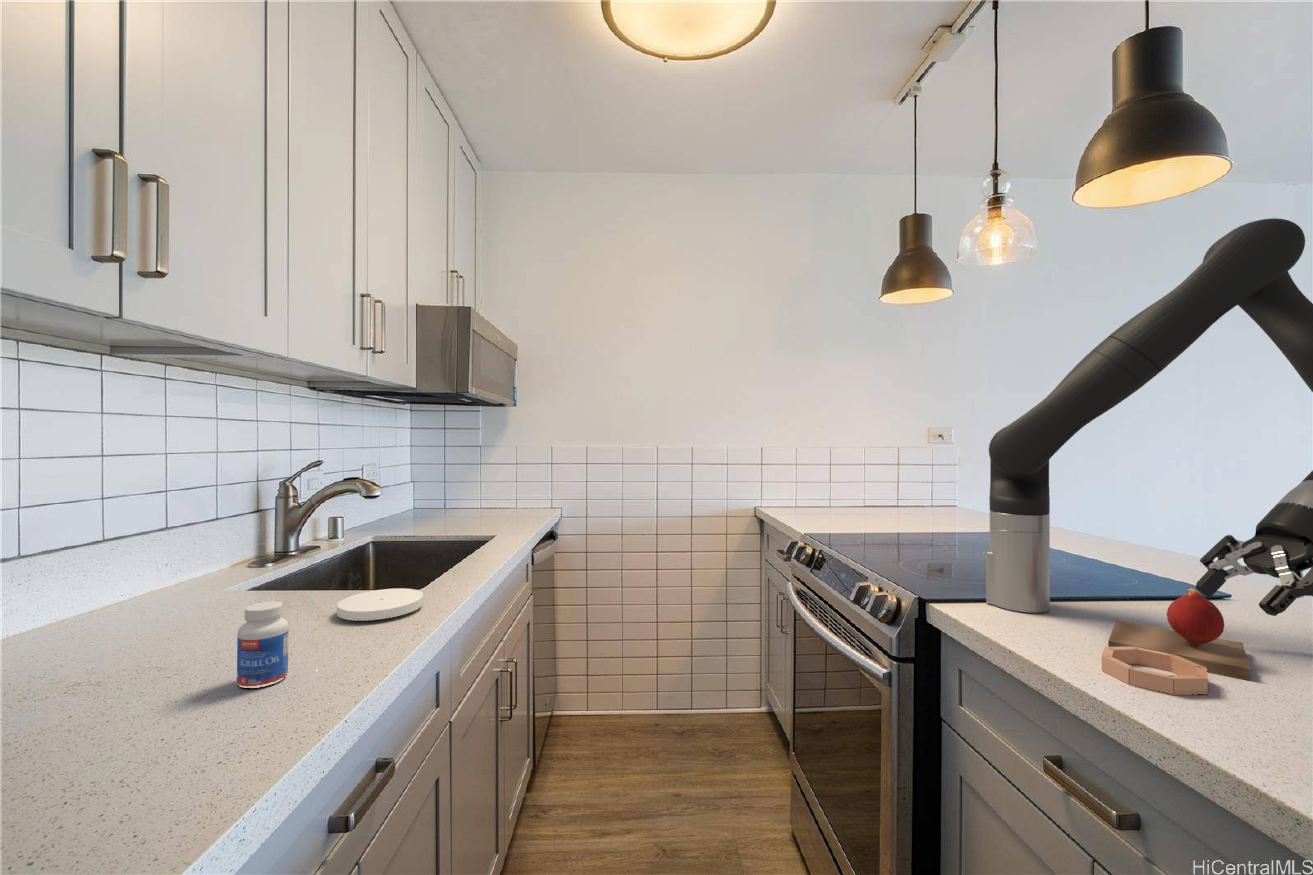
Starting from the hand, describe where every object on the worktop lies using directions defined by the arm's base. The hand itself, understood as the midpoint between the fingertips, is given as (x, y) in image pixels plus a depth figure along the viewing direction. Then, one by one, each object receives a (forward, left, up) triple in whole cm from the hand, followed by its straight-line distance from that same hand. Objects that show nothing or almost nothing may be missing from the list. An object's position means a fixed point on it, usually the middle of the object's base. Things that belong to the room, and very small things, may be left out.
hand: (1232, 601), depth 78 cm
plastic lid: (-109, -75, -8) cm, 133 cm away
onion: (-4, -3, -6) cm, 8 cm away
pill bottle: (-91, -97, -8) cm, 133 cm away
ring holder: (-8, -17, -8) cm, 20 cm away
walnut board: (-6, -4, -8) cm, 10 cm away
